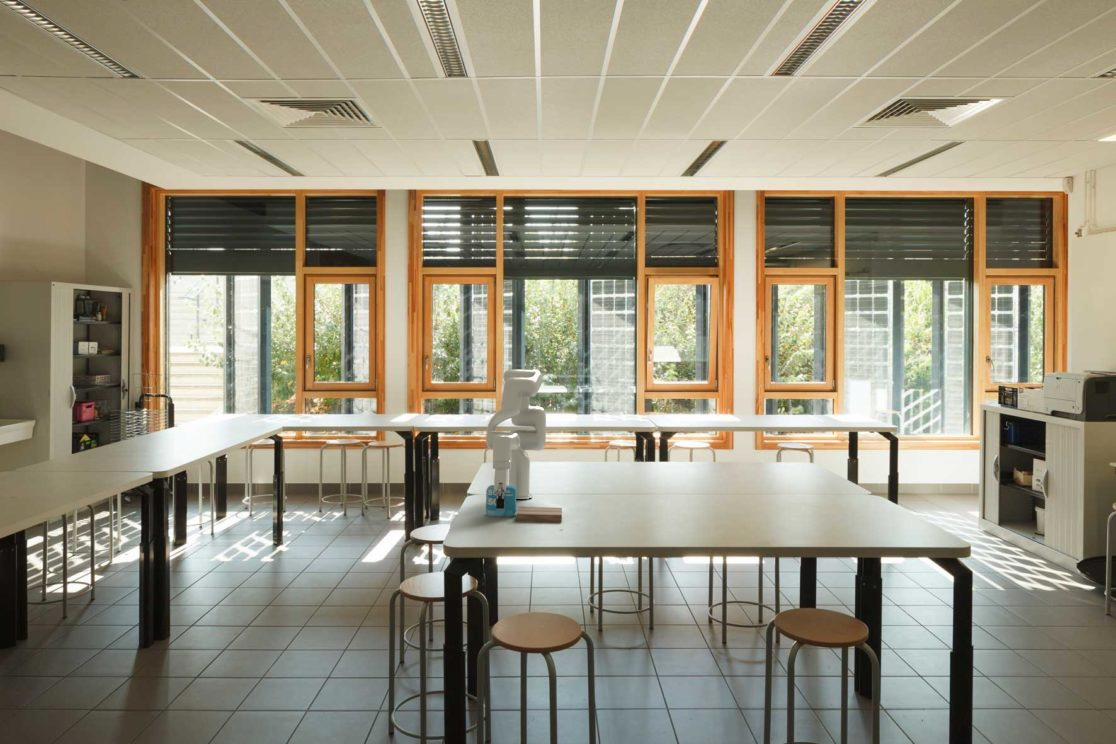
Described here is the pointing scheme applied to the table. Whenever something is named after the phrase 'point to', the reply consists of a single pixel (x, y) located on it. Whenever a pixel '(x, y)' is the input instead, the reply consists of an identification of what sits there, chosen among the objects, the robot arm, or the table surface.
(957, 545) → the table surface
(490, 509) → the data package
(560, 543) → the table surface
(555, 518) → the base plate
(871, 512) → the table surface
